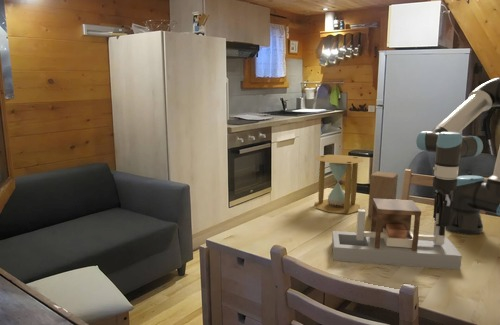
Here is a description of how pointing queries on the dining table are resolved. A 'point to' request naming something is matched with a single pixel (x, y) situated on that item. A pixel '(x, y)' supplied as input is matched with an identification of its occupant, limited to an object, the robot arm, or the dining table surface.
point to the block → (396, 230)
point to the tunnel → (394, 217)
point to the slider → (388, 240)
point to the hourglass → (337, 197)
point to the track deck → (394, 252)
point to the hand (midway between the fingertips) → (438, 241)
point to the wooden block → (382, 187)
